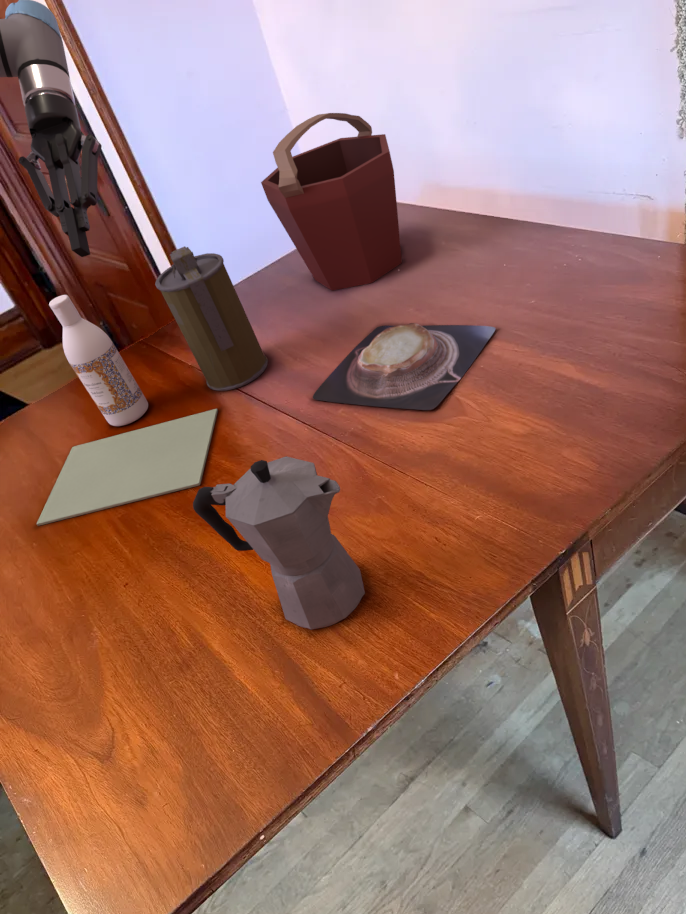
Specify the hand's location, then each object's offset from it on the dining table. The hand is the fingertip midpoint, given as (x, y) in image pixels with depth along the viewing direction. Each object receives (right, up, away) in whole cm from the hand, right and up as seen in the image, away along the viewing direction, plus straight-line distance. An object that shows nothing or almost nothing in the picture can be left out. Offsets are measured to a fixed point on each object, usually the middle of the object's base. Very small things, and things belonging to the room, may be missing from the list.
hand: (81, 252), depth 115 cm
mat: (+11, -34, -8) cm, 36 cm away
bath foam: (+6, -25, +4) cm, 26 cm away
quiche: (+50, -19, -7) cm, 54 cm away
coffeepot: (+41, -50, -37) cm, 74 cm away
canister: (+23, -18, +4) cm, 30 cm away
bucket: (+41, +6, +22) cm, 47 cm away
